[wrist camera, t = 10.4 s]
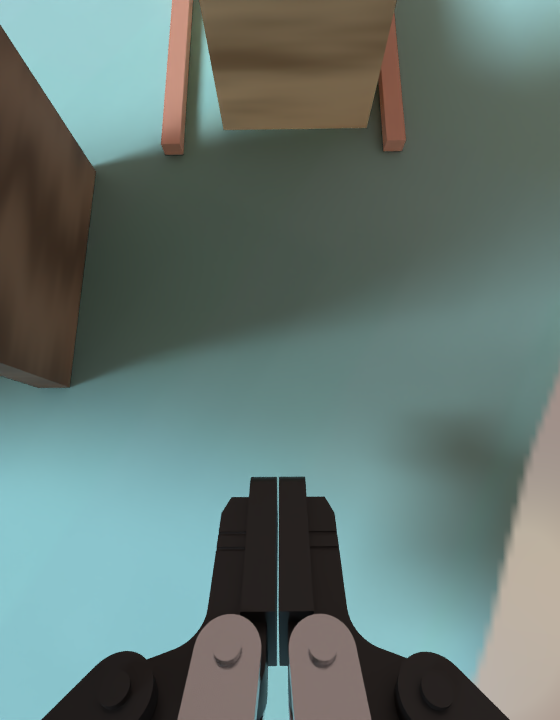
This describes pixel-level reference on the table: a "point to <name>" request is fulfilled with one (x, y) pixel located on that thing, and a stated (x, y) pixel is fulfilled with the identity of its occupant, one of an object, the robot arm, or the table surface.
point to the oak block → (296, 61)
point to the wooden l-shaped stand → (39, 229)
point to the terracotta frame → (179, 83)
